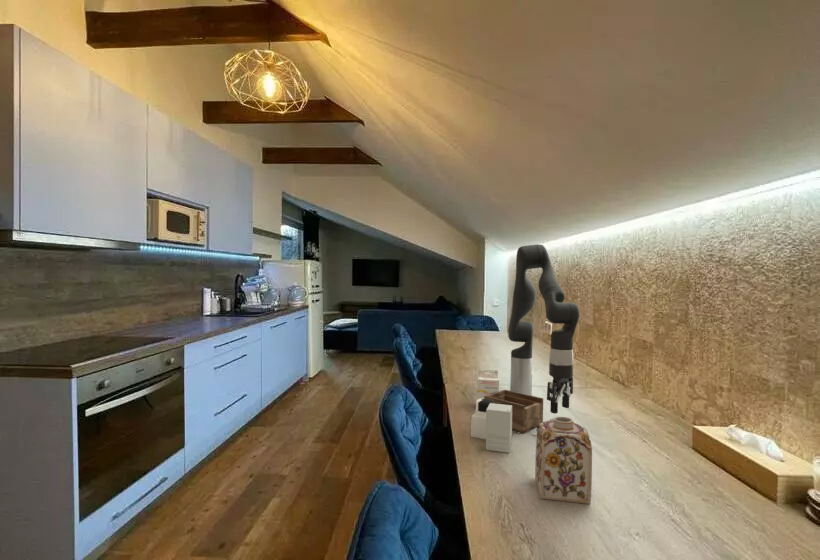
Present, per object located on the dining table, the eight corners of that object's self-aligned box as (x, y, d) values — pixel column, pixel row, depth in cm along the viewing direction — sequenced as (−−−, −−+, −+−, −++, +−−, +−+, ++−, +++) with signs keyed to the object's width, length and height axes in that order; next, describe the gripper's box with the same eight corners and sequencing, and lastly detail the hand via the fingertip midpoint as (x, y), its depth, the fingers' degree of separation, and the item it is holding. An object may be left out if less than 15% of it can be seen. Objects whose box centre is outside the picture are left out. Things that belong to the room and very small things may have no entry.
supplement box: (512, 444, 138) (513, 405, 138) (509, 453, 131) (510, 411, 131) (488, 441, 140) (489, 402, 140) (485, 450, 133) (486, 408, 133)
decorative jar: (591, 505, 102) (593, 428, 102) (540, 500, 104) (541, 424, 104) (581, 482, 113) (582, 413, 113) (534, 477, 115) (536, 409, 115)
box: (504, 414, 169) (505, 389, 169) (542, 424, 157) (543, 398, 157) (483, 422, 159) (484, 396, 159) (522, 433, 147) (523, 406, 147)
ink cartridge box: (477, 408, 176) (477, 371, 176) (476, 404, 181) (477, 369, 181) (498, 409, 175) (499, 372, 175) (497, 405, 180) (498, 369, 180)
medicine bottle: (497, 434, 147) (498, 398, 147) (492, 441, 141) (492, 404, 140) (476, 430, 150) (477, 395, 150) (470, 437, 144) (471, 400, 143)
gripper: (560, 357, 153) (558, 403, 154) (540, 363, 143) (539, 412, 143) (581, 360, 148) (579, 408, 148) (562, 367, 138) (560, 417, 138)
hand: (559, 410), depth 146 cm, fingers open, 8 cm apart
